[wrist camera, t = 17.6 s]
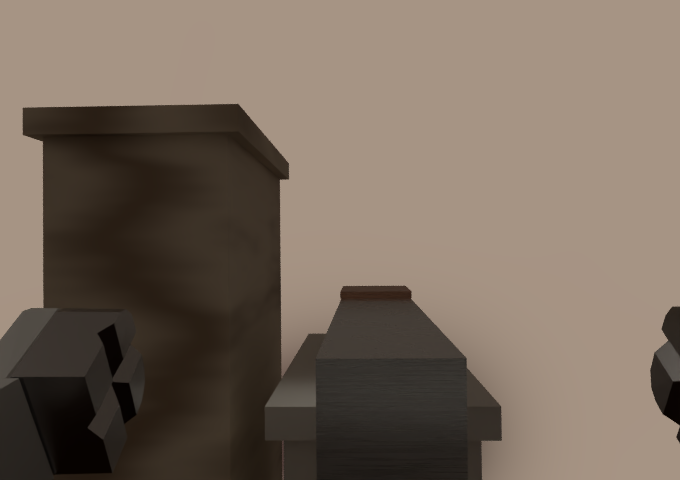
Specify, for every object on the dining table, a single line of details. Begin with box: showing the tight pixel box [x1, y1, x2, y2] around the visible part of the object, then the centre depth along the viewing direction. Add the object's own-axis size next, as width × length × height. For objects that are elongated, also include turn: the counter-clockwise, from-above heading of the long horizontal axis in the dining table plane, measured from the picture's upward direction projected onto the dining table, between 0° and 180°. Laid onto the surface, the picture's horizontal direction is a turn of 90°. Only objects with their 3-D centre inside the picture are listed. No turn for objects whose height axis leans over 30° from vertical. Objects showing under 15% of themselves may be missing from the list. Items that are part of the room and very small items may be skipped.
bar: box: [316, 286, 468, 480], centre depth 24 cm, size 22×3×3 cm, turn 178°
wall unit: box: [23, 104, 289, 480], centre depth 31 cm, size 8×16×26 cm, turn 178°
